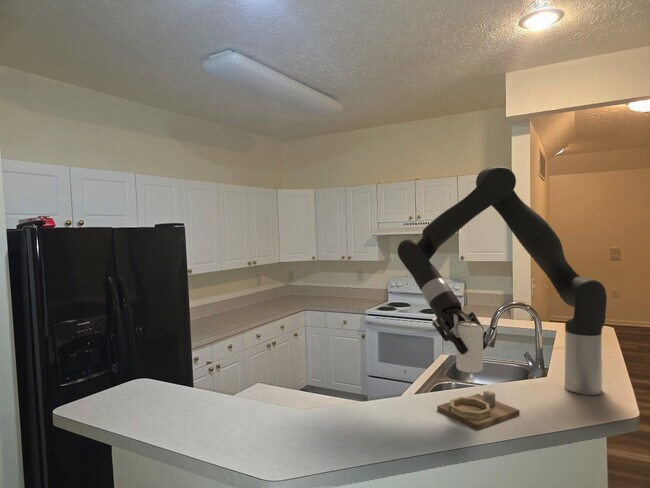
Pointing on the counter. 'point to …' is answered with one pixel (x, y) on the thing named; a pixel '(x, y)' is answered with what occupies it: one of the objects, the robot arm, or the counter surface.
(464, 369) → the can
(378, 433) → the counter surface
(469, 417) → the board
